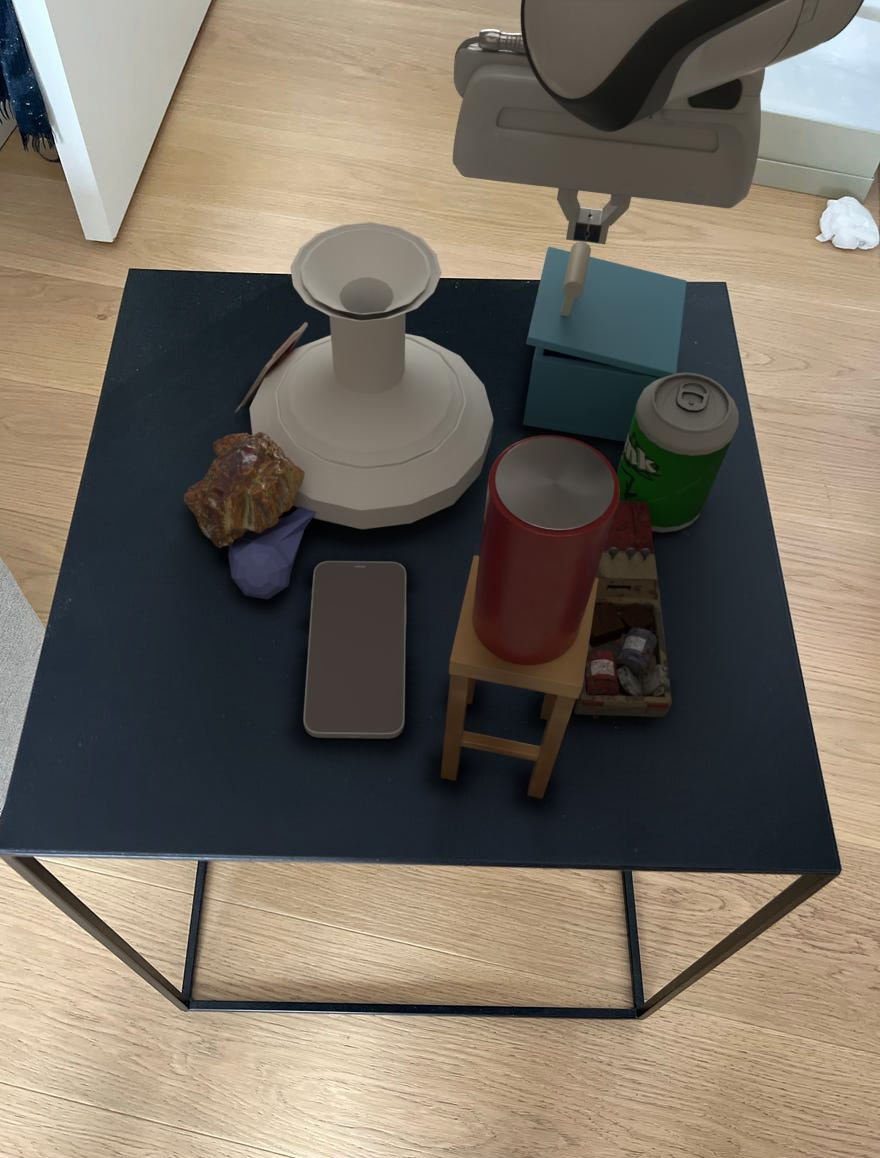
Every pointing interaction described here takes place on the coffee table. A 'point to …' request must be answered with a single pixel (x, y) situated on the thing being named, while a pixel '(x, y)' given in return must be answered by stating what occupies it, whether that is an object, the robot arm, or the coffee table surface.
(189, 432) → the coffee table surface
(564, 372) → the box
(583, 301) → the lid
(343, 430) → the candle holder
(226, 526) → the mineral specimen
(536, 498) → the red canister
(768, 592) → the coffee table surface
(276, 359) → the decorative emblem
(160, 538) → the coffee table surface
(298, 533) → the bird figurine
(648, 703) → the toy vehicle
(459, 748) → the stool
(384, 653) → the smartphone
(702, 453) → the soda can
